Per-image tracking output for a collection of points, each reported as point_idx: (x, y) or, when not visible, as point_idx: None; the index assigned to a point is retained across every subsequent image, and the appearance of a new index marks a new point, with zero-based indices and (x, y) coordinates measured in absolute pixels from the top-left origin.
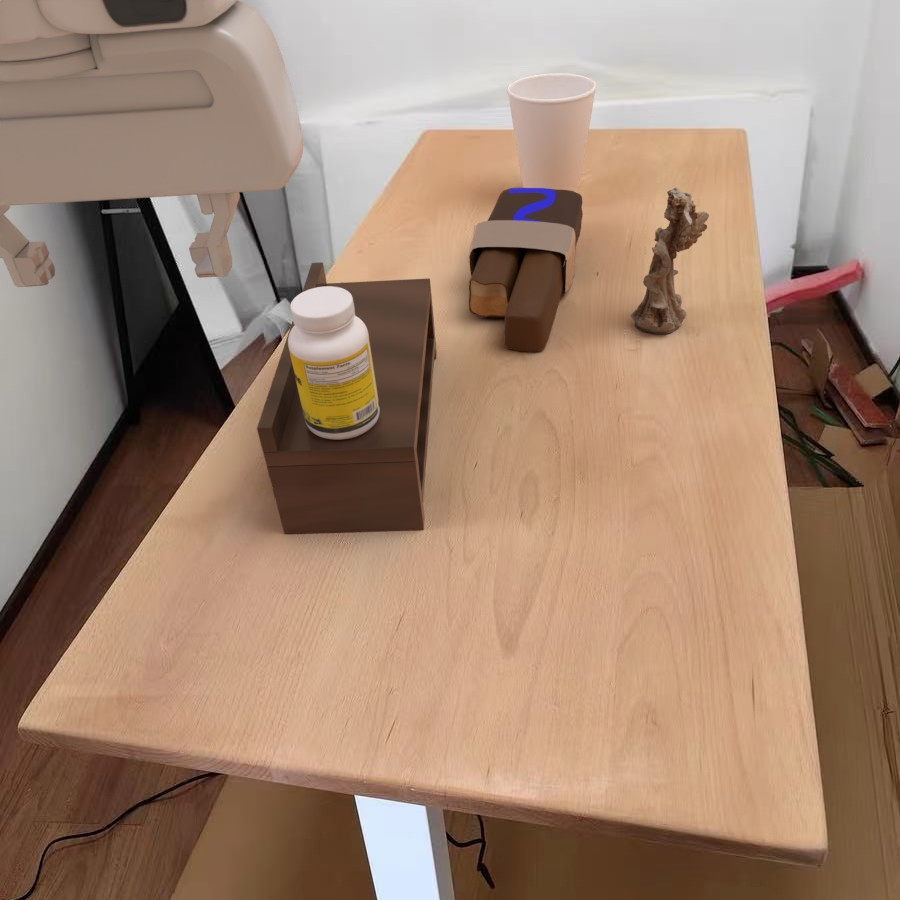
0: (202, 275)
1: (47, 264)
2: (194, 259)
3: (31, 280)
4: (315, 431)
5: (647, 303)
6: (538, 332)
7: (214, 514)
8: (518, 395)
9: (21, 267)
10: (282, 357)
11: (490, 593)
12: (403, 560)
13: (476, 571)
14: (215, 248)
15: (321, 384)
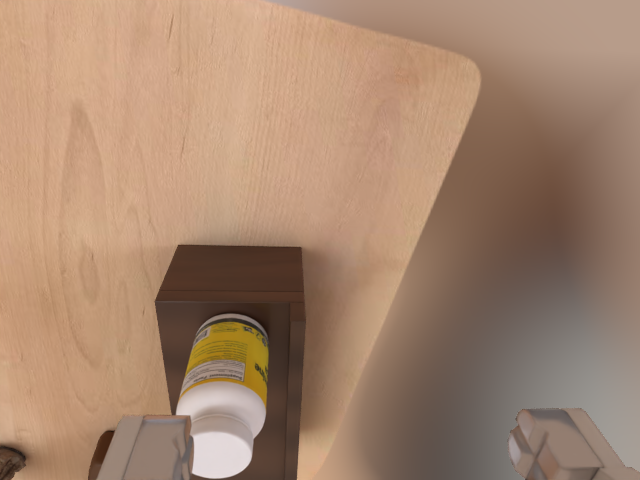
0: (174, 416)
1: (523, 460)
2: (171, 451)
3: (550, 417)
4: (253, 322)
5: (1, 476)
6: (99, 448)
7: (365, 271)
8: (118, 385)
9: (578, 444)
10: (298, 410)
11: (105, 172)
12: (191, 213)
13: (122, 197)
14: (103, 476)
15: (229, 360)
